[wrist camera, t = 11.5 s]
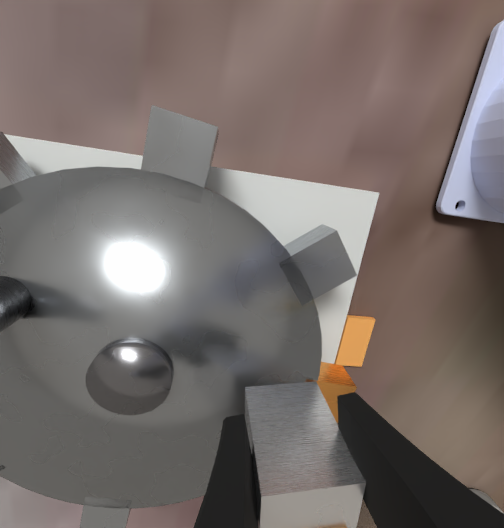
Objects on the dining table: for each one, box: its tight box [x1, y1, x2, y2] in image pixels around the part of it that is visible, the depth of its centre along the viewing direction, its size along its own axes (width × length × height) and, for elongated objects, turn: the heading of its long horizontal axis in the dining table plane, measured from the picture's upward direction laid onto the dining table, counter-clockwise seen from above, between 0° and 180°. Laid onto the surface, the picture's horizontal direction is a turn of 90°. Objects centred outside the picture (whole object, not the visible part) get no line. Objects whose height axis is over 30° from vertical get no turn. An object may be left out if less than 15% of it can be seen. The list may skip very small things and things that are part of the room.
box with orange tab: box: [245, 381, 366, 528], centre depth 10 cm, size 3×5×4 cm, turn 179°
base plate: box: [4, 134, 379, 367], centre depth 13 cm, size 22×16×2 cm
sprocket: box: [0, 105, 357, 528], centre depth 10 cm, size 19×19×5 cm
